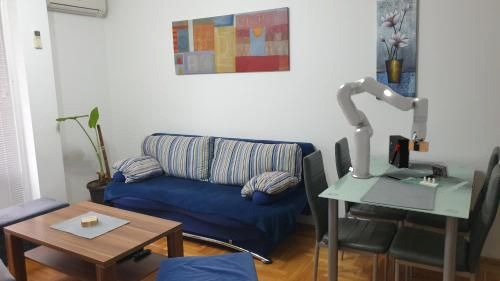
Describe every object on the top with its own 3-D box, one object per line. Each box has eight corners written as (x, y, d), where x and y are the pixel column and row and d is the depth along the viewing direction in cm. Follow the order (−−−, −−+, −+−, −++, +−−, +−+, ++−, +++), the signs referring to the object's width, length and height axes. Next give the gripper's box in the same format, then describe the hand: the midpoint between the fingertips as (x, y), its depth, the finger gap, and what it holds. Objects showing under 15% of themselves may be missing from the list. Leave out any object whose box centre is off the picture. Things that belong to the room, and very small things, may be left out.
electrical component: (411, 168, 263) (412, 139, 259) (396, 168, 263) (397, 139, 260) (401, 162, 280) (403, 135, 277) (387, 162, 280) (388, 135, 277)
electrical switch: (449, 179, 234) (449, 164, 233) (442, 181, 233) (442, 166, 231) (437, 176, 243) (437, 161, 241) (430, 177, 242) (430, 163, 240)
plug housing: (408, 150, 230) (409, 140, 230) (412, 149, 233) (412, 140, 232) (424, 152, 223) (425, 142, 222) (428, 151, 226) (428, 142, 225)
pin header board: (398, 183, 230) (399, 173, 229) (410, 178, 238) (411, 169, 238) (436, 191, 213) (436, 181, 212) (447, 185, 222) (448, 176, 221)
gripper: (420, 117, 233) (419, 147, 236) (406, 120, 223) (404, 151, 226) (433, 118, 228) (431, 149, 231) (419, 121, 217) (417, 153, 220)
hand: (418, 150), depth 228 cm, fingers closed on plug housing, 4 cm apart
